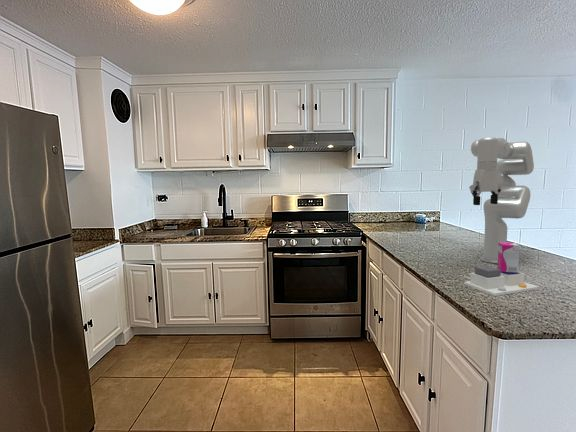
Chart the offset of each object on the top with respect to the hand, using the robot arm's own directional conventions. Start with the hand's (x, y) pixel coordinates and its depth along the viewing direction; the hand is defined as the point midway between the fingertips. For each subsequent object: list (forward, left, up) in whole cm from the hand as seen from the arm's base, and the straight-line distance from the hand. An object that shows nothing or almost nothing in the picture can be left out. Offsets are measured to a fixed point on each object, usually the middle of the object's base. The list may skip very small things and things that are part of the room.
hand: (485, 204), depth 144 cm
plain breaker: (+18, +18, -27) cm, 37 cm away
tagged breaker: (+7, +19, -29) cm, 35 cm away
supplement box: (+7, +18, -25) cm, 32 cm away
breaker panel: (+13, +20, -30) cm, 38 cm away
